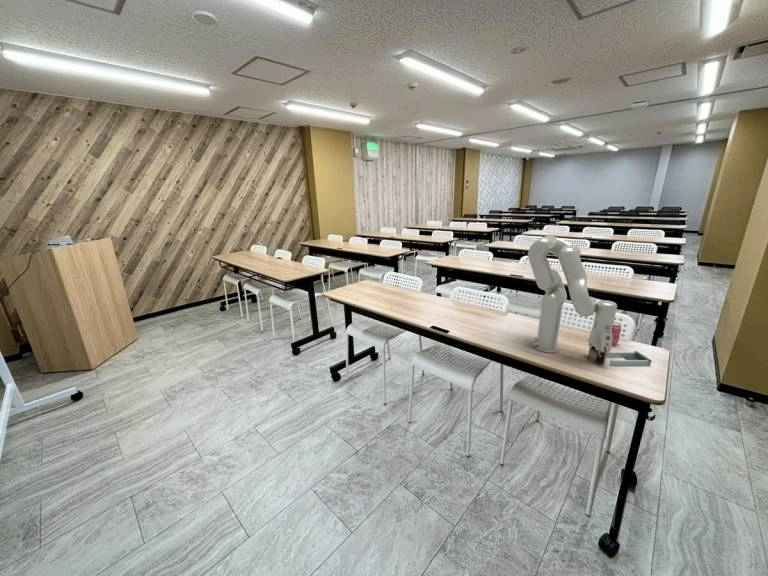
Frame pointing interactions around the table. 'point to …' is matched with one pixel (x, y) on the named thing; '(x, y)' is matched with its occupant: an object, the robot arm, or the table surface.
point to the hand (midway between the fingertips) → (595, 359)
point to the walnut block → (594, 356)
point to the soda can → (616, 333)
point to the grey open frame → (629, 359)
